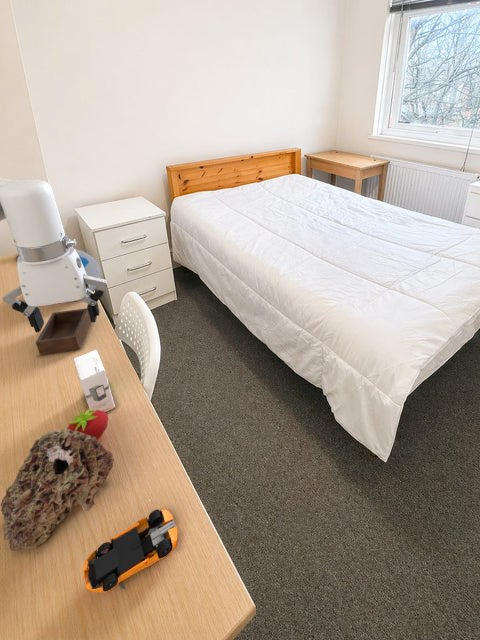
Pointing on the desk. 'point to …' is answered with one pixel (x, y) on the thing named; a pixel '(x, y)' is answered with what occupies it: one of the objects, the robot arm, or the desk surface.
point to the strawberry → (90, 423)
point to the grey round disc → (89, 266)
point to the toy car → (130, 552)
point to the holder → (64, 332)
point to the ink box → (94, 381)
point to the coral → (53, 485)
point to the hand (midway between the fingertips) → (68, 323)
